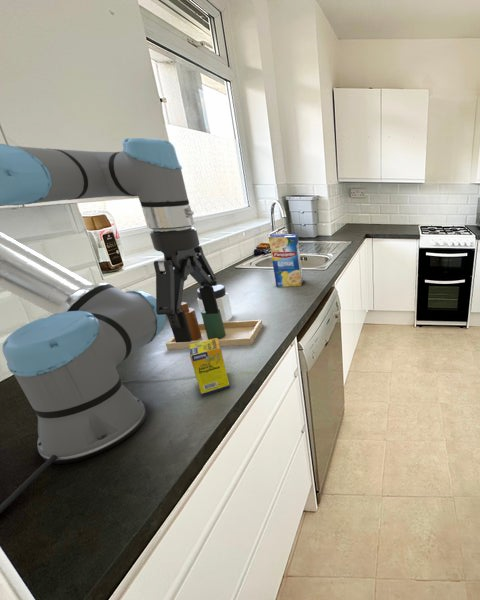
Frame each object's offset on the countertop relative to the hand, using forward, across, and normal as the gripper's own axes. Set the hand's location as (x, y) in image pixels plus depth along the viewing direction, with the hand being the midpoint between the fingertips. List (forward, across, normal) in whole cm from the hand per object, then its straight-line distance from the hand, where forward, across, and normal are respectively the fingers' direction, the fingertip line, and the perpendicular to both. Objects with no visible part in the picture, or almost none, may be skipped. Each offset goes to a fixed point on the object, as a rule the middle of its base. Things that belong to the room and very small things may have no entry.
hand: (199, 326), depth 68 cm
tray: (+16, +24, +8) cm, 30 cm away
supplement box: (+16, 0, 0) cm, 16 cm away
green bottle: (+15, +24, +9) cm, 30 cm away
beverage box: (+16, +74, -4) cm, 76 cm away
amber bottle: (+15, +24, +16) cm, 32 cm away
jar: (+16, +37, +13) cm, 42 cm away
